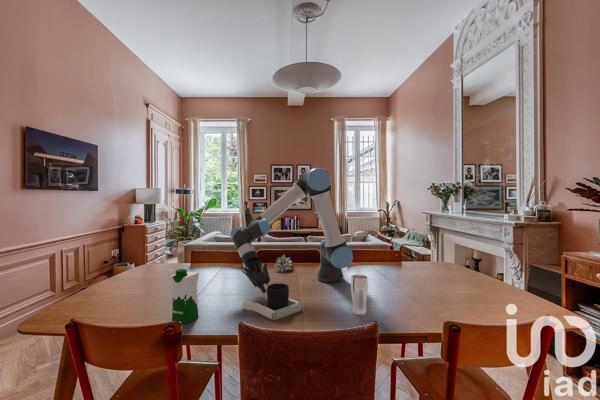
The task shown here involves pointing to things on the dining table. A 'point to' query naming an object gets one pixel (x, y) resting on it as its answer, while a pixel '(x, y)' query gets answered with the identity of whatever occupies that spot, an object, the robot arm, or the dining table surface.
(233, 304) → the dining table surface
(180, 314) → the milk carton
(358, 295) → the beer glass
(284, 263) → the grey spiky ball
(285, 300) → the pen holder
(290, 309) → the bay
